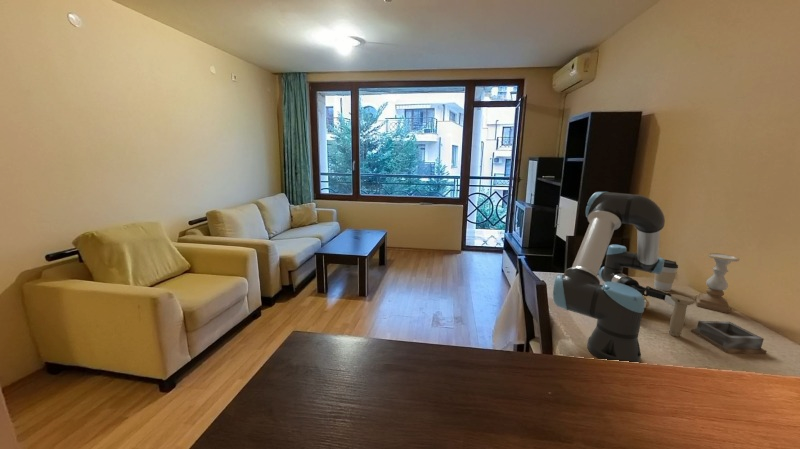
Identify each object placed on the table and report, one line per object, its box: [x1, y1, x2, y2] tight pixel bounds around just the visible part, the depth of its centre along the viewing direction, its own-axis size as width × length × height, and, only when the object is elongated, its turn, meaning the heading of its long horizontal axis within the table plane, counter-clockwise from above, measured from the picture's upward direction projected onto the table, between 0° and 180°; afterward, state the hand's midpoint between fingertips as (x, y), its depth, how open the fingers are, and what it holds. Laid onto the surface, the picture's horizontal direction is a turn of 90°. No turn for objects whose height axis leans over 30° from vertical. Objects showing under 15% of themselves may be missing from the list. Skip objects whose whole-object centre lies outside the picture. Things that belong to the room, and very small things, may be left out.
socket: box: [690, 320, 767, 354], centre depth 120 cm, size 14×14×5 cm
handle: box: [668, 293, 695, 338], centre depth 123 cm, size 5×6×15 cm
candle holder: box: [694, 252, 740, 314], centre depth 149 cm, size 11×11×24 cm
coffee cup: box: [653, 259, 679, 292], centre depth 169 cm, size 9×9×15 cm
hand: (662, 304), depth 131 cm, fingers open, 13 cm apart
